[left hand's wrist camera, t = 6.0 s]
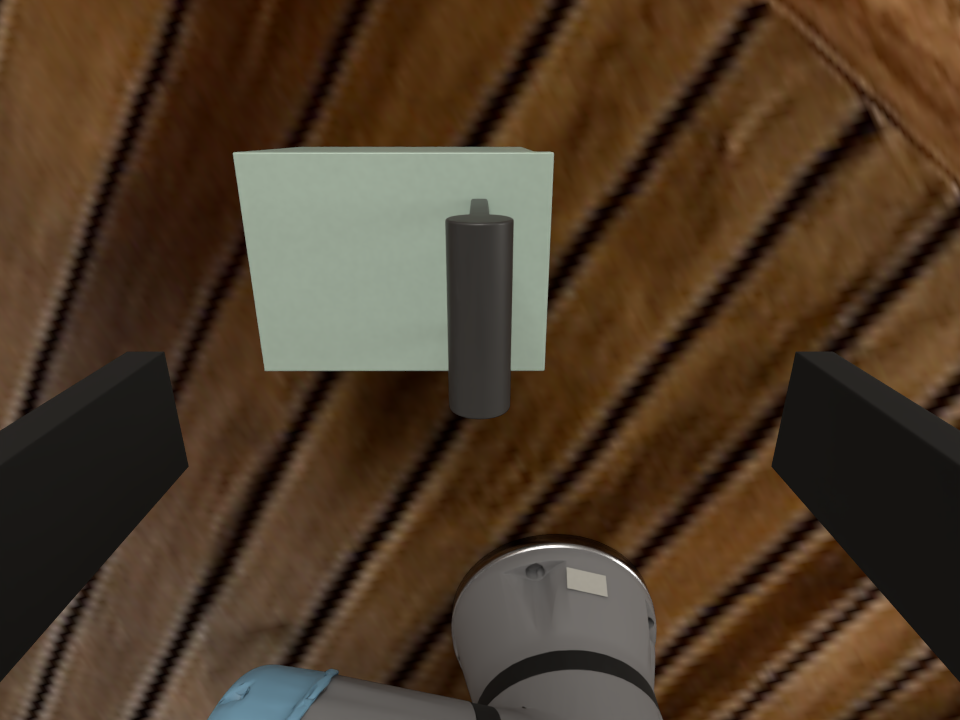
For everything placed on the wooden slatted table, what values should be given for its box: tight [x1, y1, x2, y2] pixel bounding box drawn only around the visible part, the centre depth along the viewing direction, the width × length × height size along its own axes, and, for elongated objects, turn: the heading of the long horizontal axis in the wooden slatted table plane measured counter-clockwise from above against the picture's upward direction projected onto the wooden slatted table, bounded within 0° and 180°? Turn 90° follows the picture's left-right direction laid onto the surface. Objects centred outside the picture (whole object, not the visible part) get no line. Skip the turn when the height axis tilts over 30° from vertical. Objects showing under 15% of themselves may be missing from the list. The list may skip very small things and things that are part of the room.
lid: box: [233, 152, 554, 419], centre depth 22 cm, size 13×10×9 cm
